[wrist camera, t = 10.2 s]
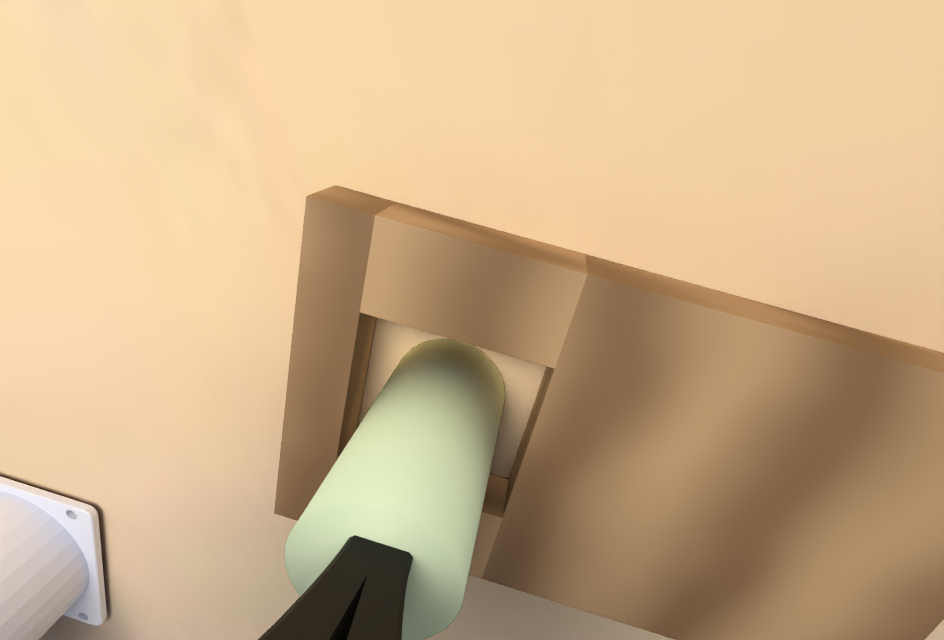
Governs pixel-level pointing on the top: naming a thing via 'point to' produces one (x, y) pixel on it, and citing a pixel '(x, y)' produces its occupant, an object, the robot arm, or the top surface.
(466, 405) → the peg
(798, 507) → the walnut board
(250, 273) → the top surface
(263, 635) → the robot arm
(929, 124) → the top surface
